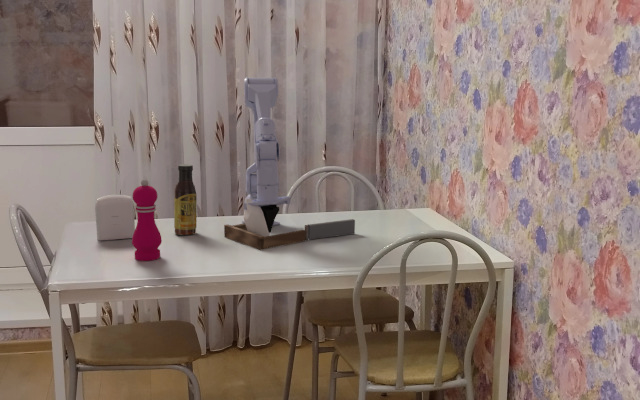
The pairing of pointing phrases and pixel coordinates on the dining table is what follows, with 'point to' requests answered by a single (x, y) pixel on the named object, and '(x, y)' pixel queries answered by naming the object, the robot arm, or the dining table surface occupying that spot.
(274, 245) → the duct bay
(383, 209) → the dining table surface
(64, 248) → the dining table surface
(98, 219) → the photo printer
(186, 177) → the sauce bottle
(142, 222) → the pepper mill
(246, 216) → the beige pointed upright block
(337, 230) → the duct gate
